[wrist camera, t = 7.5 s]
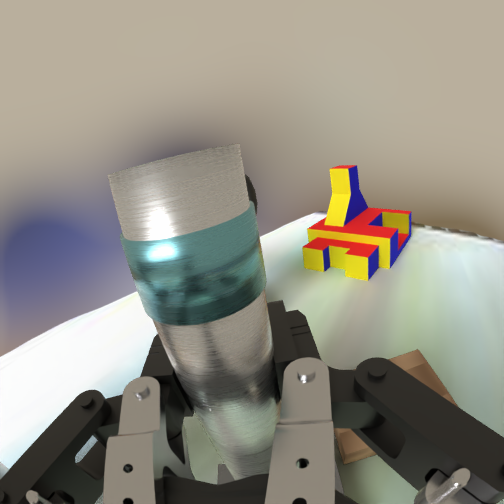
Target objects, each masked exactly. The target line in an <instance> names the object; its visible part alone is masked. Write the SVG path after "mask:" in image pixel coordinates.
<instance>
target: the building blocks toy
mask: <svg viewBox="0 0 504 504" xmlns="http://www.w3.org/2000/svg"><path fill="white" fill-rule="evenodd" d="M330 176H331V185H332V197H331V201H330V205H329V209H328V213H327V217H326V218H324V219H322V220H321V221H319V222H318V223H316V224H314V225H313V226H311V227H309V228H308V229H307V231H308V239H309V243H308V244H306V245H305V246H303V247H302V250H303V259H304V268H307V269H312V270H317V271H322V272H325V271H326V270H327V269H328V268H329V267H335V268H340V269H345V276H347V277H352V278H357V279H362V280H367V281H368V280H369V279H370V278H371V276H372V275H373V274H374V272H375V271H376V270H377V269H378V267H382V268H388V269H390V268H391V266H392V265H393V263H394V262H395V260H396V259H397V257H398V256H399V254H400V252H401V251H402V249H403V248H404V246H405V245H406V243H407V242H408V240H409V238H410V237H411V211H401V210H390V209H378V208H368V206H367V204H366V202H365V200H364V198H363V196H362V194H361V192H360V190H359V180H358V170H357V166H356V165H349V166H348V165H347V166H337V167H334V168H331V169H330Z"/></svg>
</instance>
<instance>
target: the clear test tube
mask: <svg viewBox="0 0 504 504" xmlns="http://www.w3.org/2000/svg"><path fill="white" fill-rule="evenodd" d="M108 178H109V182H110V186H111V191H112V195H113V198H114V203H115V206H116V210H117V214H118V218H119V221H120V225H121V228H122V233H121V235H120V239H121V243H122V246H123V249H124V252H125V256H126V258H127V262H128V265H129V268H130V271H131V274H132V277H133V279H134V282H135V285H136V288H137V291H138V293H139V296H140V299H141V301H142V304H143V307H144V309H145V312H146V313H147V315H148V316H149V317H151V318H152V319H153V322H154V324H155V327H156V329H157V332H158V334H159V337H160V339H161V341H162V344H163V346H164V348H165V351H166V353H167V355H168V357H169V360H170V362H171V364H172V366H173V368H174V371H175V373H176V375H177V377H178V379H179V381H180V383H181V385H182V387H183V389H184V391H185V393H186V395H187V397H188V399H189V401H190V403H191V405H192V407H193V409H194V411H195V413H196V415H197V417H198V418H199V420H200V422H201V424H202V426H203V428H204V429H205V431H206V433H207V435H208V436H209V438H210V440H211V442H212V443H213V445H214V447H215V448H216V450H217V452H218V453H219V455H220V457H221V458H222V460H223V462H224V463H225V465H226V466H227V468H228V470H229V471H230V473H231V474H232V476H233V477H234V479H235V480H239V479H243V478H246V477H249V476H253V475H258V474H267V473H269V471H270V464H271V456H272V449H273V441H274V433H275V427H276V424H277V423H279V420H280V411H281V396H280V390H279V384H278V378H277V372H276V366H275V360H274V344H273V338H272V332H271V326H270V320H269V314H268V308H267V302H266V296H265V291H264V288H265V286H266V274H265V267H264V261H263V255H262V249H261V243H260V237H259V232H258V225H257V219H256V213H255V207H254V203H253V202H252V201H250V200H249V197H248V191H247V186H246V180H245V174H244V169H243V163H242V157H241V151H240V146H239V144H233V145H227V146H221V147H216V148H211V149H206V150H201V151H196V152H192V153H187V154H183V155H179V156H174V157H170V158H166V159H162V160H158V161H154V162H150V163H147V164H143V165H139V166H136V167H132V168H129V169H125V170H122V171H119V172H115V173H112V174H109V175H108Z"/></svg>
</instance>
